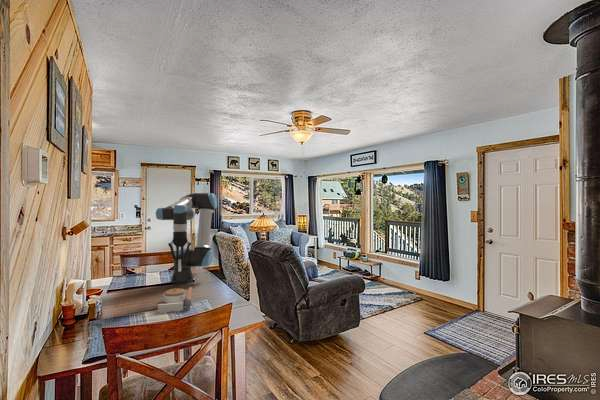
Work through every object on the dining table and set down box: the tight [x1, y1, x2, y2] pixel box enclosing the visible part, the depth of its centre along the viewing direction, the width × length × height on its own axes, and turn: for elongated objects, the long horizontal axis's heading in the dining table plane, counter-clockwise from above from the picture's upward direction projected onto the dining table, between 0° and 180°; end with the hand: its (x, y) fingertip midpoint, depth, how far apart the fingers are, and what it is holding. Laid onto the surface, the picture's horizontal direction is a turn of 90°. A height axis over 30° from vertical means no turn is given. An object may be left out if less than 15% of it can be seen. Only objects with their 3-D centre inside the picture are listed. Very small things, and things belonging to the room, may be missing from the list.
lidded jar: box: [163, 287, 186, 304], centre depth 166 cm, size 11×11×9 cm
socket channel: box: [157, 291, 191, 314], centre depth 166 cm, size 20×16×4 cm
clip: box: [184, 286, 193, 307], centre depth 170 cm, size 25×3×3 cm, turn 17°
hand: (179, 271), depth 178 cm, fingers closed
